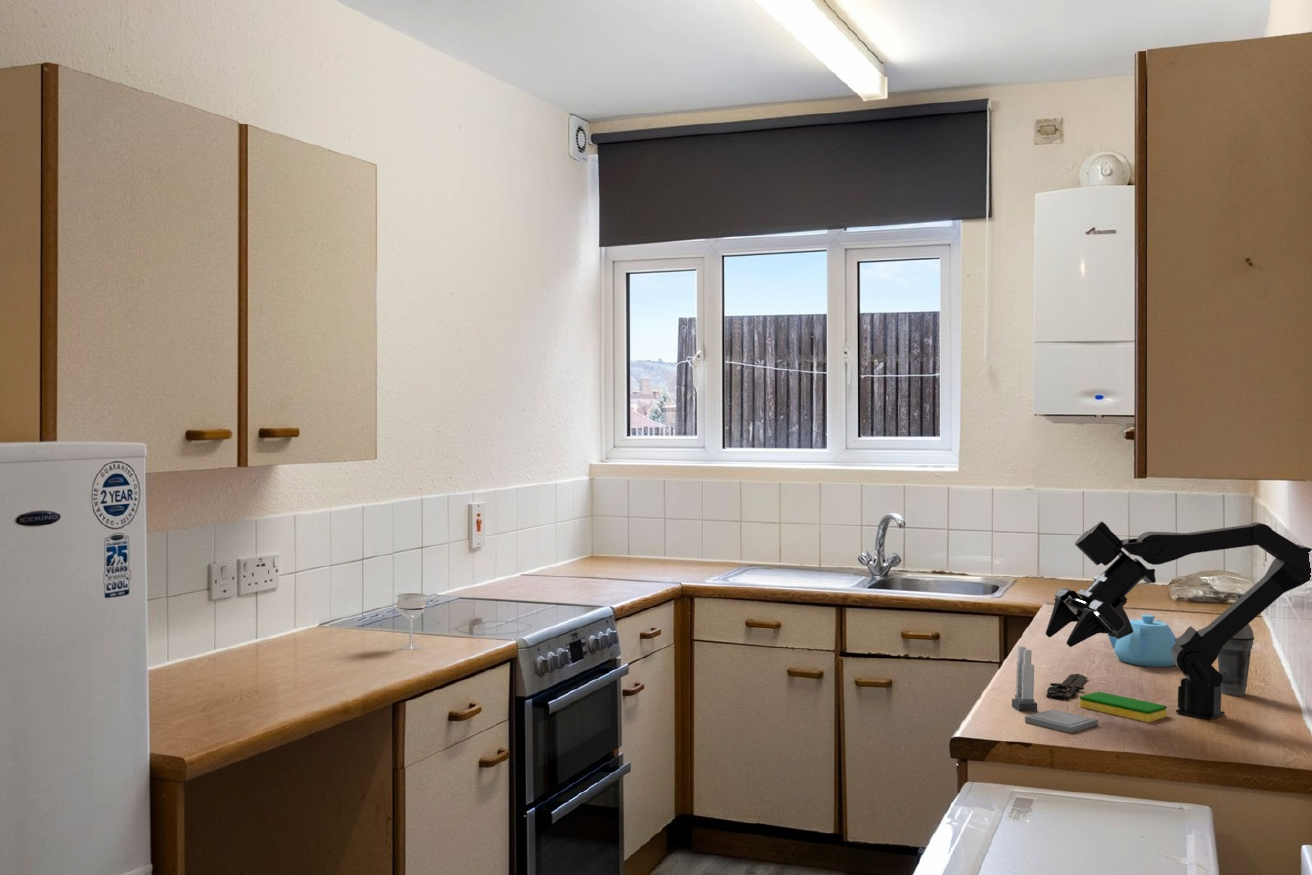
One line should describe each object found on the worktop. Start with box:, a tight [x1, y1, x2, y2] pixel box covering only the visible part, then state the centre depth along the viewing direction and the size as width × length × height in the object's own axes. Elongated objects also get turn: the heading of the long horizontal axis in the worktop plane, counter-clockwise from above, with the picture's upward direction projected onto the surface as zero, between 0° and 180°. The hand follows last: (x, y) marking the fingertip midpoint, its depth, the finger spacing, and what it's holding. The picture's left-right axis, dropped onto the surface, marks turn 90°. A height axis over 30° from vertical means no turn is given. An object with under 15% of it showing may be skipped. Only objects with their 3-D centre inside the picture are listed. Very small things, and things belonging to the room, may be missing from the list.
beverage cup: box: [1217, 595, 1255, 697], centre depth 230 cm, size 7×7×20 cm
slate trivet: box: [1024, 708, 1099, 734], centre depth 204 cm, size 9×9×1 cm
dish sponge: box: [1079, 691, 1168, 723], centre depth 214 cm, size 7×14×2 cm, turn 39°
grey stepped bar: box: [1011, 646, 1038, 712], centre depth 214 cm, size 4×4×12 cm
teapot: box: [1107, 614, 1177, 668], centre depth 260 cm, size 15×15×11 cm
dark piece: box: [1045, 673, 1088, 701], centre depth 233 cm, size 25×6×1 cm, turn 145°
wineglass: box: [395, 592, 427, 651], centre depth 260 cm, size 7×7×12 cm
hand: (1057, 640), depth 215 cm, fingers open, 9 cm apart
